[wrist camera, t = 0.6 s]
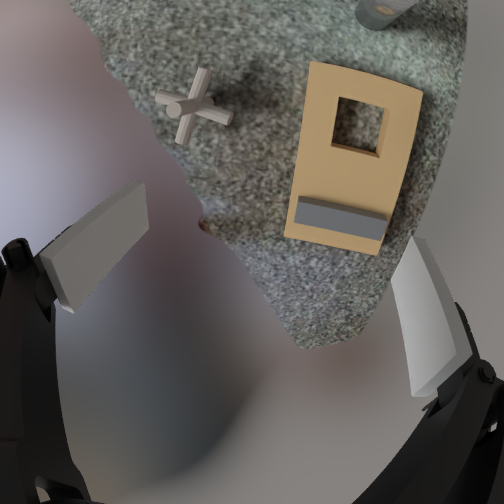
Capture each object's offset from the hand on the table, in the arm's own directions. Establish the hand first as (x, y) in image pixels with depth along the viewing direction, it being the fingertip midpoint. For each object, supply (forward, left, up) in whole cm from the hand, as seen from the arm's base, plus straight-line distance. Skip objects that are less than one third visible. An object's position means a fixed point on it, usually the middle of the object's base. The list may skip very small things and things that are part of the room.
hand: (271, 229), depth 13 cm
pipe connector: (-3, -13, -26) cm, 29 cm away
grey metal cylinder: (-19, +7, -26) cm, 33 cm away
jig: (+2, +7, -26) cm, 27 cm away
